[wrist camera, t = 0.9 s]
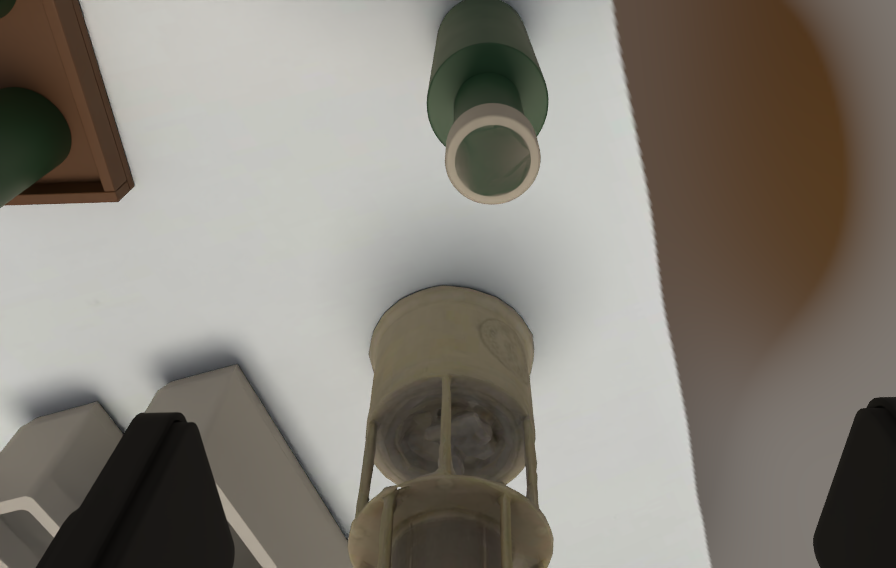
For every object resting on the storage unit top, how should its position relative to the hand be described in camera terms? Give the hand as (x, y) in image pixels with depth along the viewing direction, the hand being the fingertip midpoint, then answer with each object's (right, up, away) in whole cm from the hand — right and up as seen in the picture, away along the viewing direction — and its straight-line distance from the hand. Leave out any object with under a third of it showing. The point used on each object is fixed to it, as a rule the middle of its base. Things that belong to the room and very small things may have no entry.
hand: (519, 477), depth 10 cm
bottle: (+1, +15, +23) cm, 27 cm away
